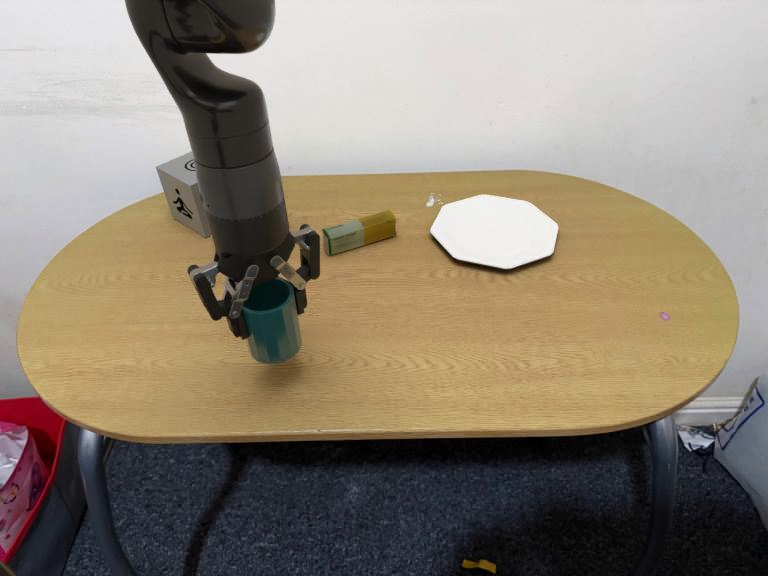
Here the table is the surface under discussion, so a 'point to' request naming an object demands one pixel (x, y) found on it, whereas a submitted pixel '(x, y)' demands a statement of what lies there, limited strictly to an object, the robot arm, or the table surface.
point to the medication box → (359, 232)
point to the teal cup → (272, 322)
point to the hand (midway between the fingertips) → (271, 321)
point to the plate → (495, 231)
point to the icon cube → (184, 193)
